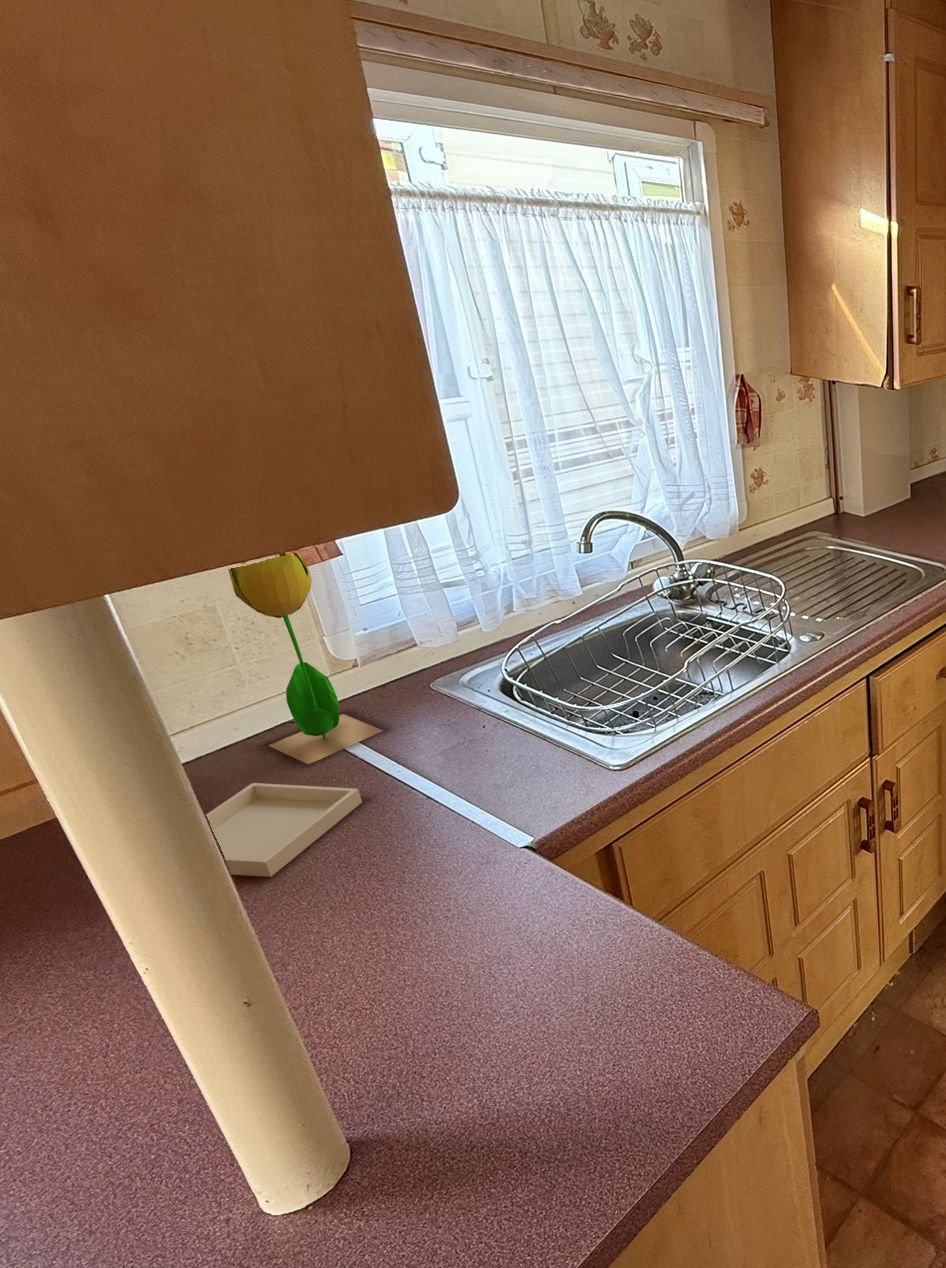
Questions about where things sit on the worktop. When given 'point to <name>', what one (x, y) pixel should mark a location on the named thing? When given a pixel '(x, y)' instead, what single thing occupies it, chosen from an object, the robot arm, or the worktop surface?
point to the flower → (280, 594)
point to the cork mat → (325, 740)
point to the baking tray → (276, 823)
